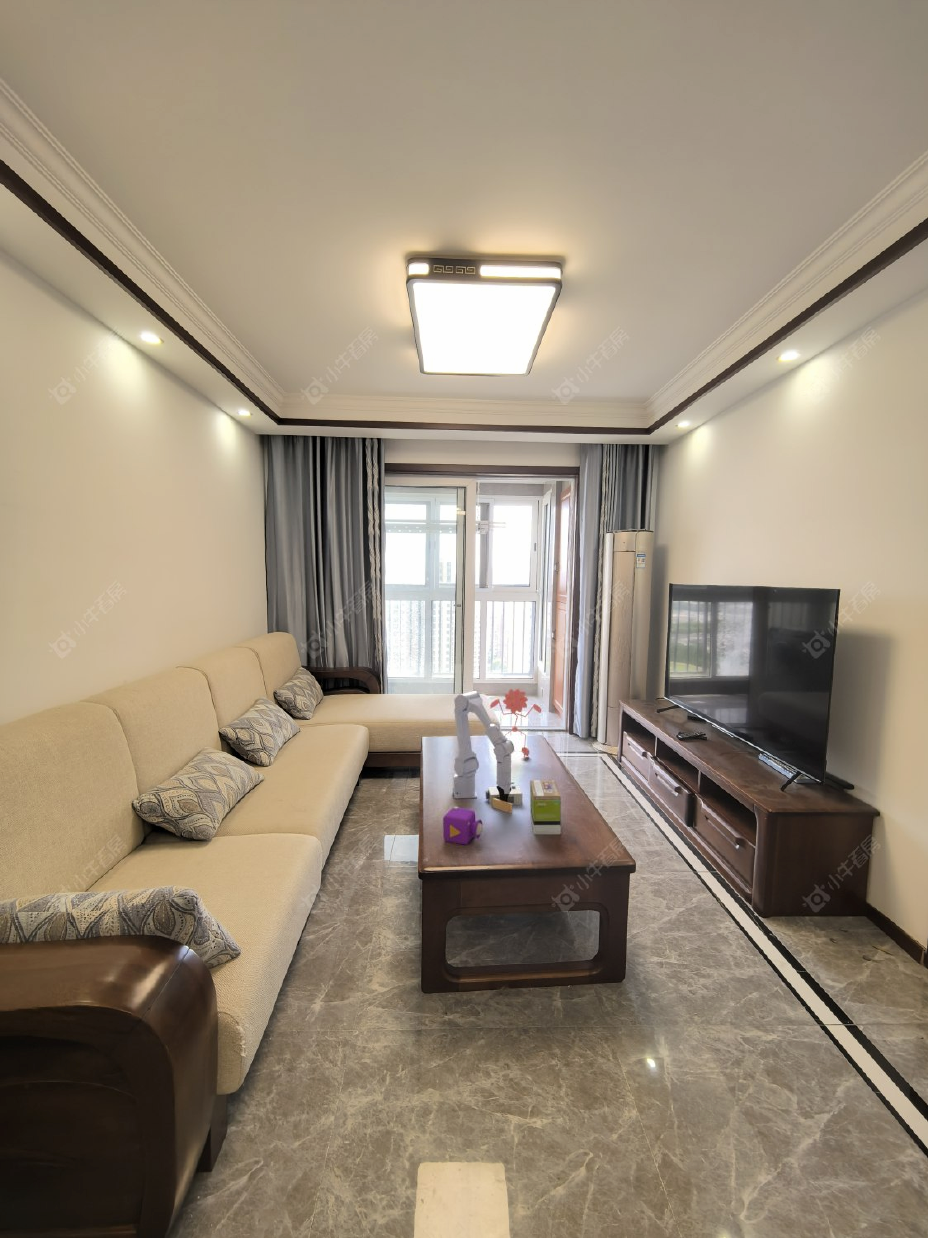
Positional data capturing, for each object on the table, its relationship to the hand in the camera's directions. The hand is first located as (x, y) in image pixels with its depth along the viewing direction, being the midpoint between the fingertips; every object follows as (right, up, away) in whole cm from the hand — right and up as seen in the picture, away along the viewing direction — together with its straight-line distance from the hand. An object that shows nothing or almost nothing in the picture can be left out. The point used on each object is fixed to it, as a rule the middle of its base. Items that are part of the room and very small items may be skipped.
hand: (503, 804), depth 216 cm
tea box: (+14, -3, -15) cm, 21 cm away
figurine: (+10, +3, +62) cm, 63 cm away
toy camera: (-16, -4, -25) cm, 30 cm away
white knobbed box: (+1, -1, +7) cm, 7 cm away
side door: (-1, -2, -1) cm, 2 cm away
